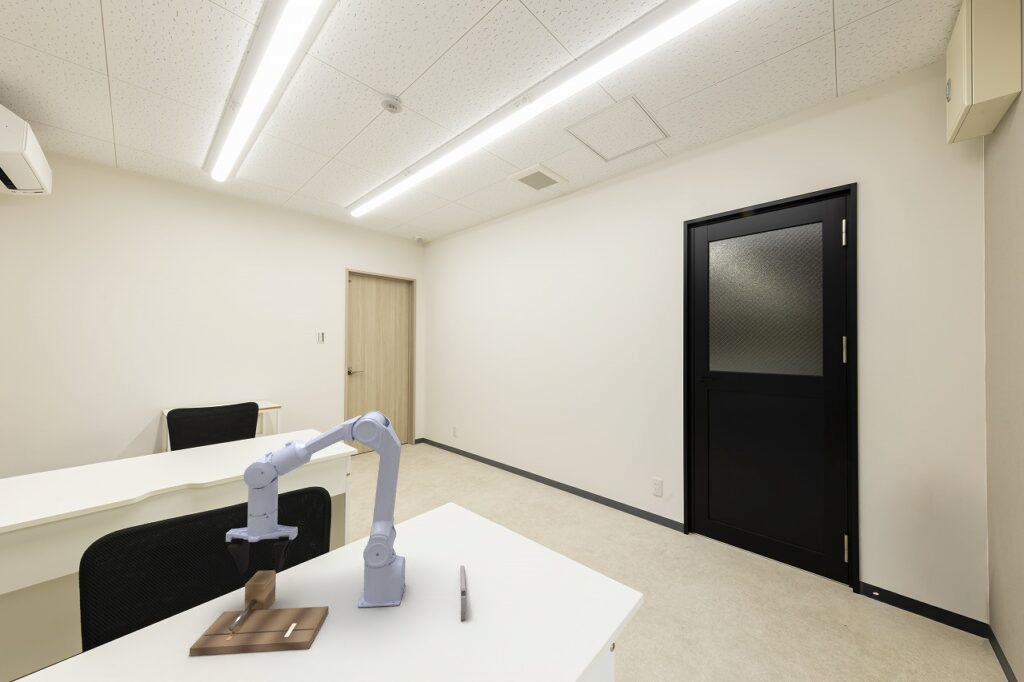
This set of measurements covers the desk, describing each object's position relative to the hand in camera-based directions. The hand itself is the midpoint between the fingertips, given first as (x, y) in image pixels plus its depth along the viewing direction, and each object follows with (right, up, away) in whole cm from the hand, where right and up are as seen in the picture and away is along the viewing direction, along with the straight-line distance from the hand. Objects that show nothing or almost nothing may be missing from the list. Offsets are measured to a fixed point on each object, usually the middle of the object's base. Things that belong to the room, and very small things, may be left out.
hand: (261, 570), depth 86 cm
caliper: (+45, -10, +7) cm, 47 cm away
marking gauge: (0, -8, -4) cm, 9 cm away
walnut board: (+6, -9, -7) cm, 13 cm away
